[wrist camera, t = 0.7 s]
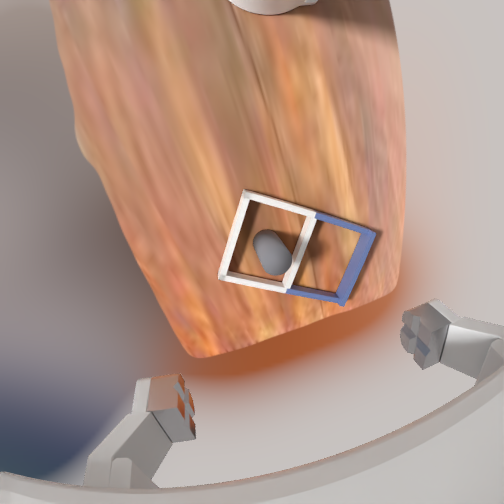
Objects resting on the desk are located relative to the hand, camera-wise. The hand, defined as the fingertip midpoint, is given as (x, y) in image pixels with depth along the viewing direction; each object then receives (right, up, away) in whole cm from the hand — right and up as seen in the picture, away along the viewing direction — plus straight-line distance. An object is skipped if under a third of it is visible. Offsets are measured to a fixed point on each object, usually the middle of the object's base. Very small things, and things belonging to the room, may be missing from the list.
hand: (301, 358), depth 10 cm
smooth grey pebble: (+1, +5, +41) cm, 41 cm away
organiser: (+6, +4, +42) cm, 43 cm away
